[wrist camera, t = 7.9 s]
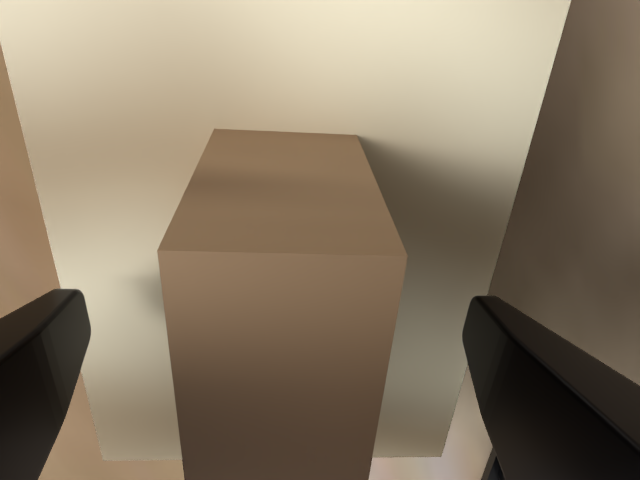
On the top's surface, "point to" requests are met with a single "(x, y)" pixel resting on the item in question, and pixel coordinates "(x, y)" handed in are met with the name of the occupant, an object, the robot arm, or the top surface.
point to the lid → (277, 213)
